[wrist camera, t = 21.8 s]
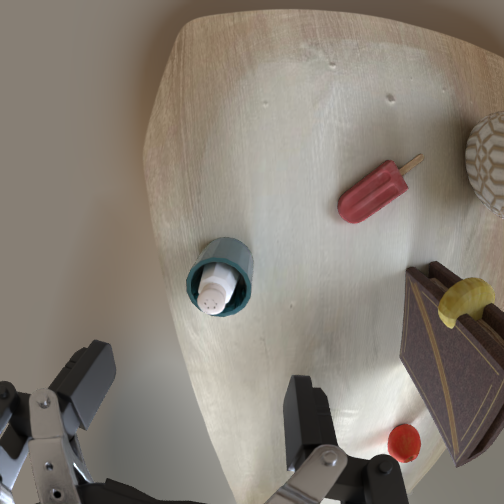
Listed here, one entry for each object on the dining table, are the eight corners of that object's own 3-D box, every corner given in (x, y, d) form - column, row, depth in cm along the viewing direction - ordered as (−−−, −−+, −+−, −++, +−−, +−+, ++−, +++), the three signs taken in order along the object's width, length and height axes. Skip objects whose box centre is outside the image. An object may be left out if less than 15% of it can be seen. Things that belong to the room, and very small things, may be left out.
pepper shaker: (207, 282, 38) (188, 326, 28) (202, 244, 37) (179, 279, 26) (246, 281, 38) (240, 326, 28) (243, 242, 36) (236, 277, 26)
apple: (381, 441, 52) (390, 474, 42) (387, 424, 50) (399, 459, 40) (409, 433, 52) (421, 463, 41) (417, 415, 49) (432, 447, 39)
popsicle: (433, 169, 31) (351, 231, 34) (427, 168, 32) (348, 228, 36) (418, 141, 30) (333, 203, 33) (412, 141, 31) (330, 200, 35)
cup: (193, 273, 39) (177, 299, 31) (213, 228, 37) (200, 246, 29) (239, 295, 40) (234, 326, 32) (262, 251, 37) (262, 276, 30)
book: (431, 352, 43) (491, 447, 19) (393, 365, 43) (444, 474, 20) (443, 242, 36) (559, 322, 12) (399, 252, 37) (512, 355, 13)
